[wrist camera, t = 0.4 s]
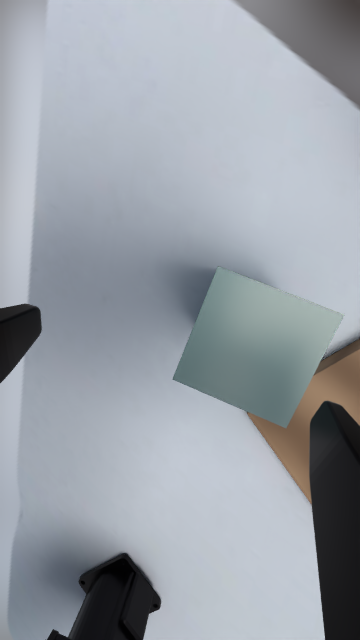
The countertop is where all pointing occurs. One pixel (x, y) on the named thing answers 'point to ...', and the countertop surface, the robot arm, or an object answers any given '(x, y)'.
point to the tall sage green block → (256, 346)
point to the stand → (326, 384)
